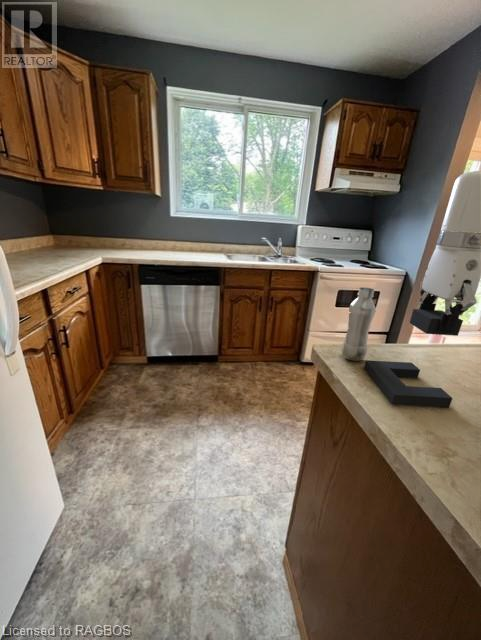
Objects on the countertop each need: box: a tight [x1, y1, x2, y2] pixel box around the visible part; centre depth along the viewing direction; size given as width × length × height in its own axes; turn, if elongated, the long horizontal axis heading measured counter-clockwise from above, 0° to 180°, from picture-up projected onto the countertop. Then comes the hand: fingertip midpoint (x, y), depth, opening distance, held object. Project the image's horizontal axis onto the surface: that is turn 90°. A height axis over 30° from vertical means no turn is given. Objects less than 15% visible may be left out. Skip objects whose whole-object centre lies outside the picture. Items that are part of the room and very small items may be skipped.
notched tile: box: [363, 359, 453, 409], centre depth 64 cm, size 12×15×2 cm
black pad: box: [409, 308, 464, 337], centre depth 60 cm, size 7×7×4 cm
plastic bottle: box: [341, 287, 377, 362], centre depth 73 cm, size 6×7×20 cm
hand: (433, 324), depth 60 cm, fingers closed on black pad, 6 cm apart
